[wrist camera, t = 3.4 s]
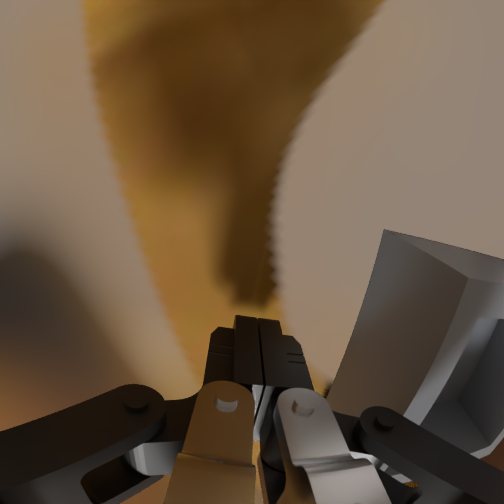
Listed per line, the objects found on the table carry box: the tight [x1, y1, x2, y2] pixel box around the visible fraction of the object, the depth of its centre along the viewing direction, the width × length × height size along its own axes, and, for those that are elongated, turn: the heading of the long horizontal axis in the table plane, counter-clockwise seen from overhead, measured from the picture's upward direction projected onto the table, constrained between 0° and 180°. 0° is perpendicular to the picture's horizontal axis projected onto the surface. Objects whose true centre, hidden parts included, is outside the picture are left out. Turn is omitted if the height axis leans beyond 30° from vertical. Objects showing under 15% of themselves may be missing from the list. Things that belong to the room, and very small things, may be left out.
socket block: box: [326, 230, 504, 483], centre depth 10 cm, size 9×9×5 cm
